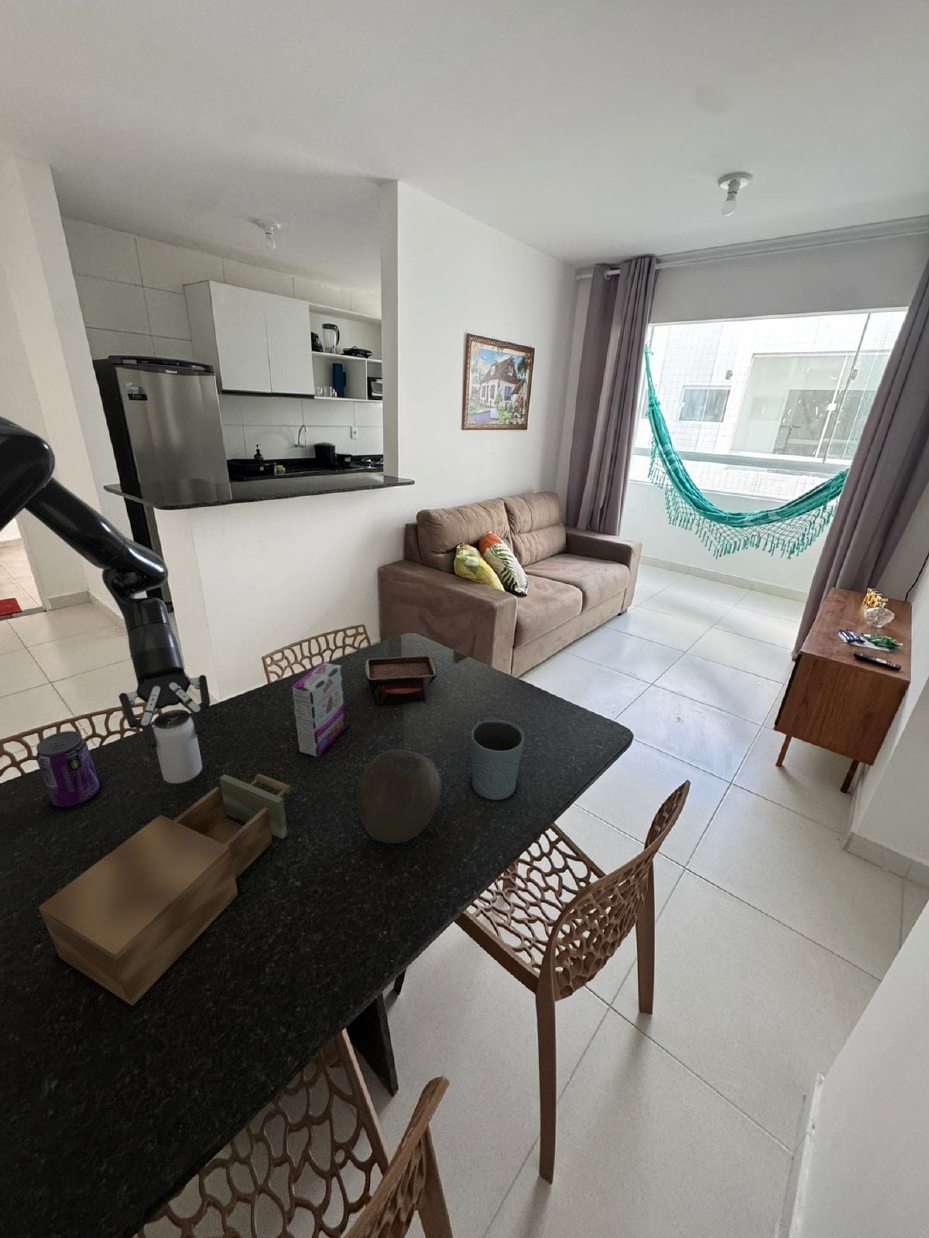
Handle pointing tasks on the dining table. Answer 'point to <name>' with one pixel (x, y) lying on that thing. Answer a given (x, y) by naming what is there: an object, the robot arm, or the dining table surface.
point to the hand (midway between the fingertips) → (177, 740)
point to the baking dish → (400, 678)
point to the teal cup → (495, 758)
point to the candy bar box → (319, 708)
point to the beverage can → (67, 768)
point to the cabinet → (141, 906)
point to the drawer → (240, 817)
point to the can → (177, 746)
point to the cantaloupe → (398, 795)
